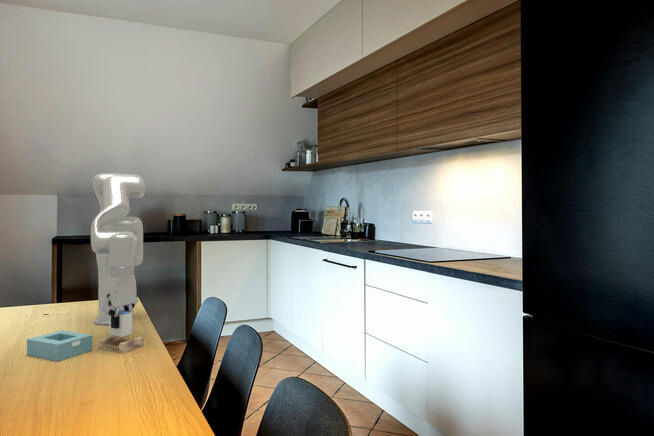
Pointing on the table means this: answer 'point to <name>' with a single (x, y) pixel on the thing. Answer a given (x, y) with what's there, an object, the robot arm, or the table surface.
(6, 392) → the table surface
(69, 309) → the table surface
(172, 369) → the table surface
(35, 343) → the block
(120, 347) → the wooden frame
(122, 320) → the white box blue label
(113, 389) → the table surface
